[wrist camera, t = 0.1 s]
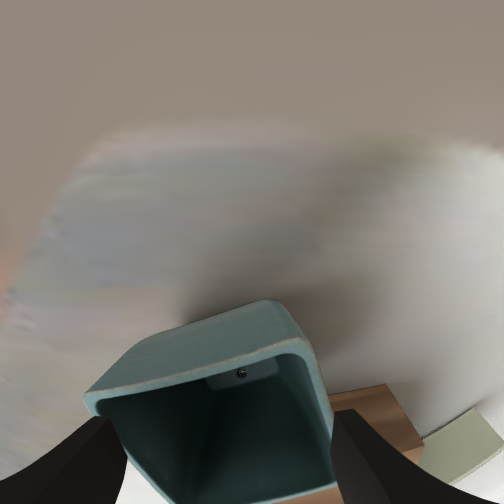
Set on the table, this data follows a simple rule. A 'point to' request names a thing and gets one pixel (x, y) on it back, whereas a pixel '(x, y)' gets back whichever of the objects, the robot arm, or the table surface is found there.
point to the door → (460, 448)
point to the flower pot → (223, 409)
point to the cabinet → (382, 420)
